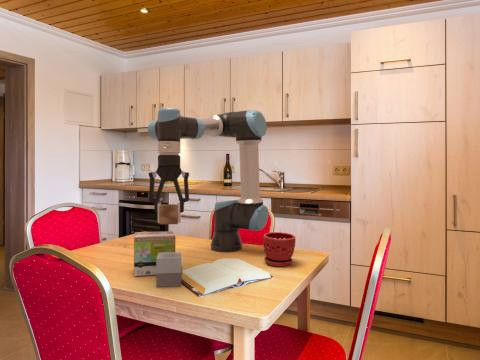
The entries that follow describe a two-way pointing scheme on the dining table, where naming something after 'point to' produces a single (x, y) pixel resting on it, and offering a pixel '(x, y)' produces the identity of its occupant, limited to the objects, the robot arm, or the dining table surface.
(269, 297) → the dining table surface
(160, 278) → the dark grey block
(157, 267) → the grey square block
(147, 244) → the tea box
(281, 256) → the plant pot
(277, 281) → the dining table surface
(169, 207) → the walnut cube
